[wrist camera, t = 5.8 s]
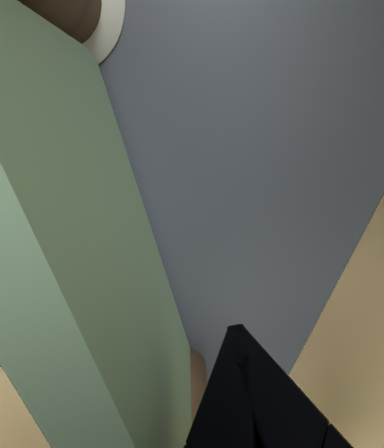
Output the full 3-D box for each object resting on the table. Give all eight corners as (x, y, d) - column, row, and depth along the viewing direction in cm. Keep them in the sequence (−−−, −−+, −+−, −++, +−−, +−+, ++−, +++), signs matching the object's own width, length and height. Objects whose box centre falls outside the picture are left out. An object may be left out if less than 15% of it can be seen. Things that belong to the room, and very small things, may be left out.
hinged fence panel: (108, 48, 8) (-76, -110, 2) (211, 380, 12) (234, 615, 6) (37, 68, 8) (-297, -33, 2) (162, 390, 12) (144, 629, 7)
